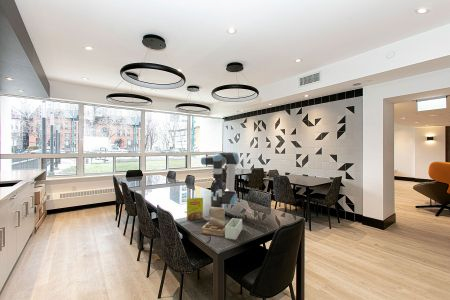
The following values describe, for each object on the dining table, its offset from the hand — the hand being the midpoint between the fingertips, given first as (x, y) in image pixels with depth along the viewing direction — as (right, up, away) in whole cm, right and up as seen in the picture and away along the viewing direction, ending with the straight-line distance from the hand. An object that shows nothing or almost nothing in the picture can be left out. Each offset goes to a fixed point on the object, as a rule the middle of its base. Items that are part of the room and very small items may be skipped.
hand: (217, 198), depth 181 cm
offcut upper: (-2, -24, -6) cm, 25 cm away
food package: (-23, -26, +25) cm, 43 cm away
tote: (+14, -26, -9) cm, 31 cm away
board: (0, -26, +1) cm, 26 cm away
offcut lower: (-2, -27, -6) cm, 27 cm away
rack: (-2, -26, -4) cm, 26 cm away
